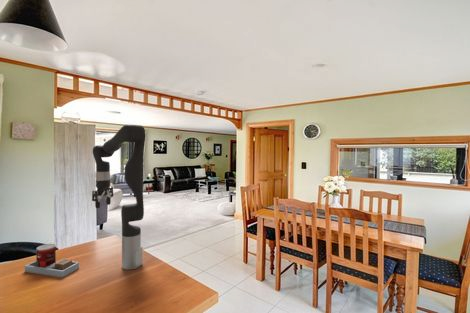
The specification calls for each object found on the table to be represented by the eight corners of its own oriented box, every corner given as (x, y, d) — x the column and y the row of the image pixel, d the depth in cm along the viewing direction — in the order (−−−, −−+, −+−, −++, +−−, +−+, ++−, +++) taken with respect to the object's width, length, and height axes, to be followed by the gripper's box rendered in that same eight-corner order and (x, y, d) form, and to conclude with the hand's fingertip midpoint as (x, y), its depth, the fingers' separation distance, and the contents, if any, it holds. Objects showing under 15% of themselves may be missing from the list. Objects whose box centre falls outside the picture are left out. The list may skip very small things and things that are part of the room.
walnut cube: (71, 269, 125) (71, 260, 125) (63, 274, 120) (62, 264, 120) (64, 268, 126) (63, 258, 126) (54, 273, 121) (54, 263, 121)
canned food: (39, 265, 129) (39, 244, 128) (57, 262, 132) (57, 242, 131) (34, 272, 122) (33, 250, 121) (53, 269, 125) (53, 248, 124)
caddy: (82, 266, 128) (82, 260, 128) (62, 277, 117) (62, 271, 117) (47, 261, 133) (46, 255, 133) (24, 271, 122) (24, 265, 122)
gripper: (106, 177, 151) (106, 203, 152) (88, 180, 137) (88, 208, 138) (116, 177, 149) (116, 203, 150) (99, 181, 136) (99, 209, 136)
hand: (103, 206), depth 144 cm, fingers open, 8 cm apart
